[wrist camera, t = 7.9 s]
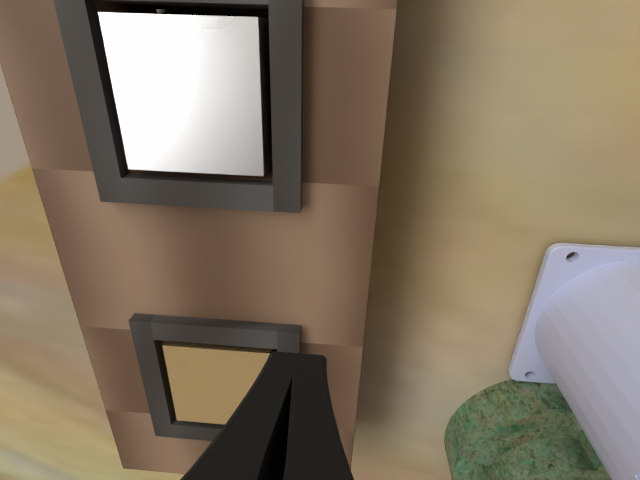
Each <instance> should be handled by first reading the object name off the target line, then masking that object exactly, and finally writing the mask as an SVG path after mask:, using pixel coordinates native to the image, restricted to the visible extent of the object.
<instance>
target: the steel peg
mask: <svg viewBox="0 0 640 480" xmlns="http://www.w3.org/2000/svg"><path fill="white" fill-rule="evenodd" d="M98 14H99V20H100V25H101V30H102V35H103V40H104V46H105V51H106V56H107V61H108V66H109V71H110V77H111V82H112V87H113V92H114V97H115V103H116V108H117V113H118V118H119V123H120V128H121V134H122V139H123V144H124V149H125V154H126V160H127V165H128V169H132V170H151V171H171V172H190V173H209V174H228V175H248V176H264V175H265V174H266V172H267V171H268V169H269V167H270V166H271V164H272V127H271V88H270V49H269V19H266V18H261V17H241V16H207V15H174V14H140V13H106V12H98Z"/></svg>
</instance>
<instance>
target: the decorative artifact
mask: <svg viewBox="0 0 640 480" xmlns="http://www.w3.org/2000/svg"><path fill="white" fill-rule="evenodd" d="M445 449H446V453H447V458H448V462H449V467H450V471H451V476H452V480H612V479H611V478H610V476H609V474H608V472H607V471H606V469H605V467H604V466H603V464H602V462H601V460H600V459H599V457H598V455H597V453H596V452H595V450H594V448H593V447H592V445H591V443H590V441H589V440H588V438H587V436H586V434H585V433H584V431H583V429H582V428H581V426H580V424H579V422H578V421H577V419H576V417H575V415H574V414H573V412H572V410H571V409H570V407H569V405H568V403H567V402H566V400H565V398H564V396H563V395H562V393H561V391H560V390H559V388H558V386H557V384H552V383H539V382H526V381H516V380H513V379H511V380H508V381H504V382H501V383H498V384H496V385H493V386H491V387H488V388H486V389H484V390H482V391H480V392H479V393H477V394H475V395H474V396H472V397H471V398H470V399H468V400H467V401H466V402H465V403H463V404H462V405H461V406H460V407H459V408H458V409H457V411H456V412H455V413H454V414H453V416H452V417H451V419H450V421H449V423H448V425H447V428H446V431H445Z"/></svg>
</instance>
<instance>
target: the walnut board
mask: <svg viewBox="0 0 640 480" xmlns="http://www.w3.org/2000/svg"><path fill="white" fill-rule="evenodd" d="M397 1H398V0H0V65H1V68H2V71H3V74H4V78H5V81H6V85H7V88H8V91H9V95H10V98H11V101H12V104H13V108H14V111H15V114H16V117H17V121H18V124H19V127H20V131H21V134H22V137H23V140H24V144H25V147H26V150H27V154H28V157H29V160H30V164H31V167H32V170H33V173H34V177H35V180H36V183H37V186H38V190H39V193H40V196H41V200H42V203H43V206H44V209H45V213H46V216H47V219H48V223H49V226H50V229H51V232H52V236H53V239H54V242H55V246H56V249H57V252H58V255H59V259H60V262H61V265H62V269H63V272H64V275H65V278H66V282H67V285H68V288H69V292H70V295H71V298H72V301H73V305H74V308H75V311H76V315H77V318H78V321H79V324H80V328H81V331H82V334H83V338H84V341H85V344H86V347H87V351H88V354H89V357H90V361H91V364H92V367H93V370H94V374H95V377H96V380H97V384H98V387H99V390H100V393H101V397H102V400H103V403H104V407H105V410H106V413H107V416H108V420H109V423H110V426H111V429H112V433H113V436H114V439H115V443H116V446H117V449H118V452H119V456H120V459H121V462H122V466H123V468H125V469H136V470H147V471H157V472H168V473H178V474H186V473H187V472H188V470H189V469H190V468H191V467H192V466H193V464H194V463H195V462H196V461H197V460H198V459H199V457H200V456H201V455H202V454H203V452H204V451H205V450H206V448H207V447H208V446H209V445H210V443H211V442H212V441H213V439H214V438H215V437H216V436H217V434H218V433H219V432H220V431H221V429H222V428H223V427H224V425H225V424H213V423H201V422H190V421H178V420H177V419H176V413H175V408H174V403H173V398H172V393H171V387H170V382H169V377H168V372H167V367H166V362H165V356H164V351H163V346H162V345H163V344H164V342H165V341H176V342H189V343H202V344H215V345H228V346H242V347H255V348H268V349H277V352H289V353H302V354H316V355H323V356H324V357H325V358H326V359H327V379H328V386H329V392H330V398H331V403H332V407H333V412H334V416H335V420H336V423H337V427H338V431H339V435H340V438H341V442H342V445H343V448H344V452H345V455H346V458H347V461H348V464H349V467H350V470H351V462H352V452H353V442H354V432H355V422H356V412H357V402H358V392H359V382H360V372H361V362H362V352H363V342H364V331H365V321H366V311H367V301H368V291H369V281H370V271H371V261H372V251H373V241H374V231H375V221H376V211H377V201H378V191H379V181H380V171H381V161H382V151H383V141H384V131H385V121H386V111H387V101H388V91H389V81H390V71H391V61H392V51H393V41H394V31H395V21H396V11H397ZM156 9H172V10H206V11H241V12H269V49H270V88H271V127H272V164H271V166H270V167H269V169H268V171H267V172H266V174H265V175H264V176H248V175H228V174H209V173H190V172H171V171H151V170H132V169H128V165H127V160H126V154H125V149H124V144H123V139H122V134H121V128H120V123H119V118H118V113H117V108H116V103H115V97H114V92H113V87H112V82H111V77H110V71H109V66H108V61H107V56H106V51H105V46H104V40H103V35H102V30H101V25H100V20H99V14H98V12H106V13H140V14H157V11H156Z"/></svg>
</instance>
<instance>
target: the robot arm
mask: <svg viewBox="0 0 640 480" xmlns="http://www.w3.org/2000/svg"><path fill="white" fill-rule="evenodd" d="M571 252H575V253H574V255H573V256H572V257H570V258H566V257H567V255H568V254H569V253H571ZM530 371H531V372H530ZM508 372H509V375H510V377H511V378H512V379H513V380H516V381H526V382H539V383H552V384H557V386H558V388H559V390H560V391H561V393H562V395H563V396H564V398H565V400H566V402H567V403H568V405H569V407H570V409H571V410H572V412H573V414H574V415H575V417H576V419H577V421H578V422H579V424H580V426H581V428H582V429H583V431H584V433H585V434H586V436H587V438H588V440H589V441H590V443H591V445H592V447H593V448H594V450H595V452H596V453H597V455H598V457H599V459H600V460H601V462H602V464H603V466H604V467H605V469H606V471H607V472H608V474H609V476H610V478H611V479H612V480H640V247H624V246H607V245H590V244H573V243H555V244H553V245H551V246H550V247H549V248H548V249H547V251H546V253H545V256H544V259H543V262H542V265H541V268H540V272H539V275H538V278H537V281H536V284H535V287H534V290H533V293H532V296H531V300H530V303H529V306H528V309H527V312H526V315H525V318H524V321H523V324H522V327H521V331H520V334H519V337H518V340H517V343H516V346H515V349H514V352H513V355H512V358H511V362H510V365H509V368H508ZM527 372H530V373H527ZM181 480H354V479H353V476H352V473H351V470H350V467H349V464H348V461H347V458H346V455H345V452H344V448H343V445H342V442H341V438H340V435H339V431H338V427H337V423H336V420H335V416H334V412H333V407H332V403H331V398H330V392H329V386H328V379H327V359H326V358H325V357H324V356H323V355H316V354H302V353H289V352H276V351H274V352H272V353H271V354H270V355H269V357H268V359H267V361H266V363H265V364H264V366H263V368H262V370H261V372H260V373H259V375H258V377H257V378H256V380H255V381H254V383H253V385H252V386H251V388H250V389H249V391H248V392H247V394H246V395H245V397H244V398H243V400H242V401H241V403H240V404H239V406H238V407H237V408H236V410H235V411H234V413H233V414H232V416H231V417H230V418H229V420H228V421H227V423H226V424H225V425H224V427H223V428H222V429H221V431H220V432H219V433H218V434H217V436H216V437H215V438H214V439H213V441H212V442H211V443H210V445H209V446H208V447H207V448H206V450H205V451H204V452H203V454H202V455H201V456H200V457H199V459H198V460H197V461H196V462H195V463H194V464H193V466H192V467H191V468H190V469H189V470H188V472H187V473H186V474H185V475H184V476H183V477H182V478H181Z"/></svg>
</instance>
